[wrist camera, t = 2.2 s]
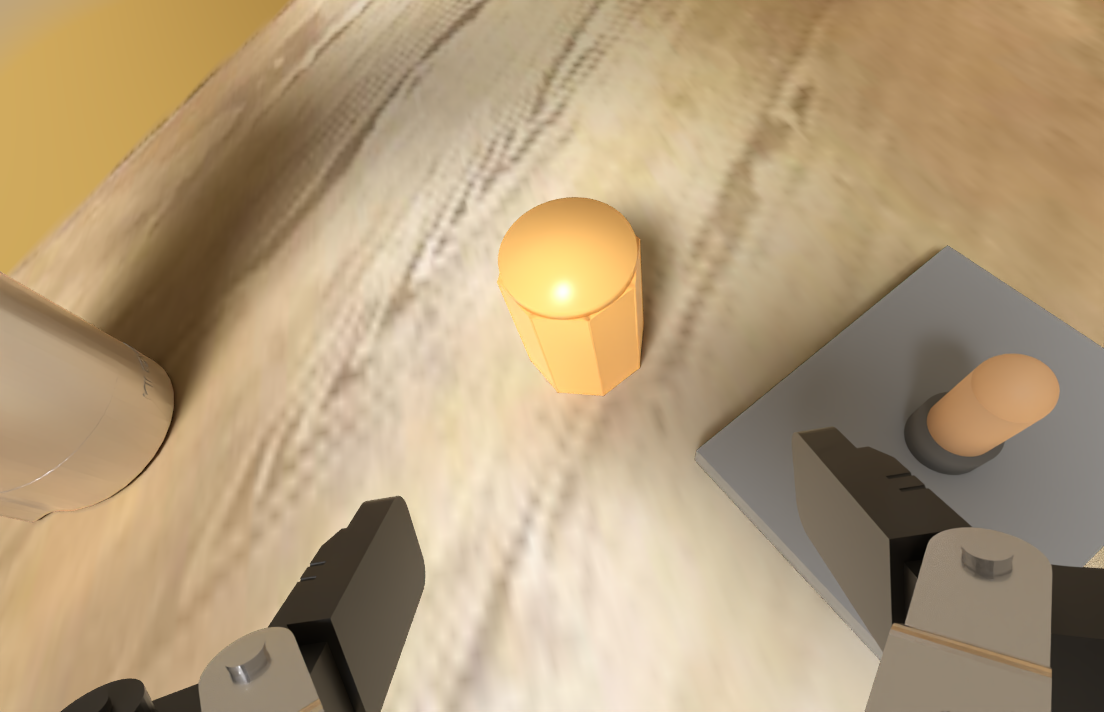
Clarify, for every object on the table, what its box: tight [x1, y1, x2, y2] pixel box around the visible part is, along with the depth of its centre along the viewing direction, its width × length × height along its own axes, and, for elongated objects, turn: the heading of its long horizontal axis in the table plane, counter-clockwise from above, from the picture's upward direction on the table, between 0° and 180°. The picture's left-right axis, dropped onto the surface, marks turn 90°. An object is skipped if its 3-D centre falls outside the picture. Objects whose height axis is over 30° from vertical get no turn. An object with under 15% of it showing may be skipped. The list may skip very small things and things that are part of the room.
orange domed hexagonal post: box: [497, 197, 644, 396], centre depth 27 cm, size 6×6×8 cm
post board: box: [695, 245, 1104, 660], centre depth 22 cm, size 16×12×8 cm
